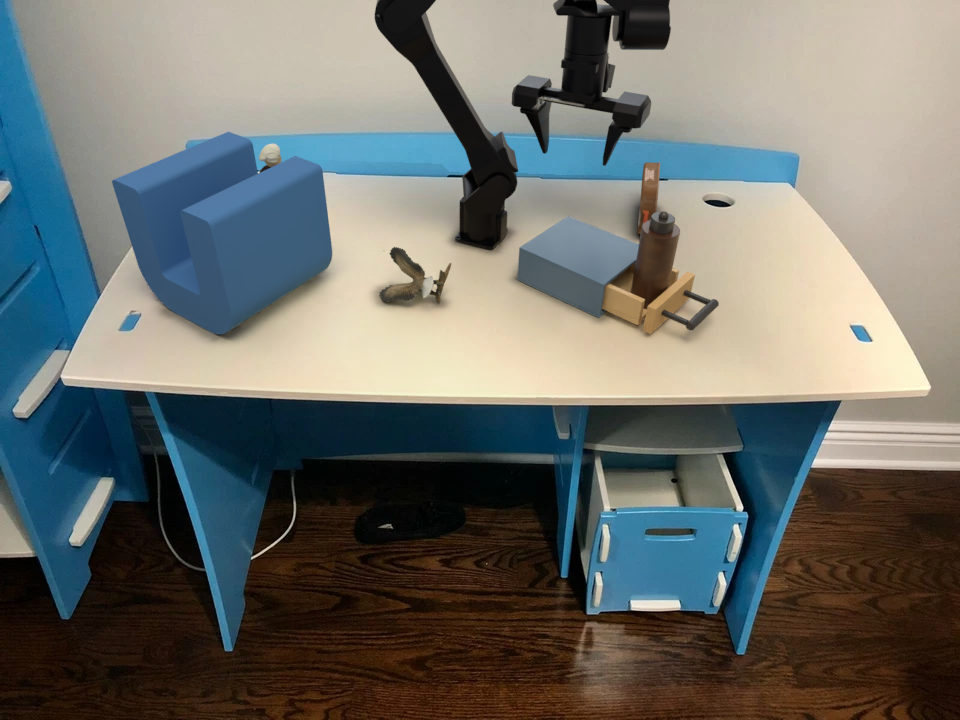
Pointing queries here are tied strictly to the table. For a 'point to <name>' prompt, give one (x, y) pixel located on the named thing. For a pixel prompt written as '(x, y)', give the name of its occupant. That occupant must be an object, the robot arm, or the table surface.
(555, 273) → the cabinet
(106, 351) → the table surface
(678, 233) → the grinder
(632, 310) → the drawer
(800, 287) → the table surface
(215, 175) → the block
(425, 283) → the eagle figurine
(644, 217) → the tin
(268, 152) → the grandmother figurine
